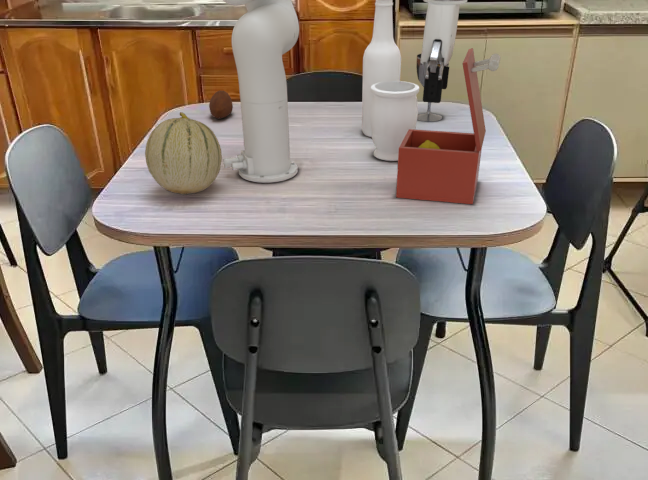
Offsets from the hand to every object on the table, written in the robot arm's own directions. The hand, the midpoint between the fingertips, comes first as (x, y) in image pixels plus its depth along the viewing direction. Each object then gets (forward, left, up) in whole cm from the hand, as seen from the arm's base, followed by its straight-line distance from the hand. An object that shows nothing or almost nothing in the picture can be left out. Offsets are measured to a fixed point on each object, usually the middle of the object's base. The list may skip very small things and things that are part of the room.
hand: (435, 95), depth 126 cm
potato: (-27, +66, -19) cm, 74 cm away
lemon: (0, 0, -17) cm, 17 cm away
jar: (+2, +21, -19) cm, 28 cm away
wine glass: (+23, +44, -19) cm, 53 cm away
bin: (+2, -1, -18) cm, 18 cm away
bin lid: (+6, -4, -1) cm, 7 cm away
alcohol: (+6, +37, -19) cm, 42 cm away
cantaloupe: (-45, +17, -19) cm, 52 cm away
